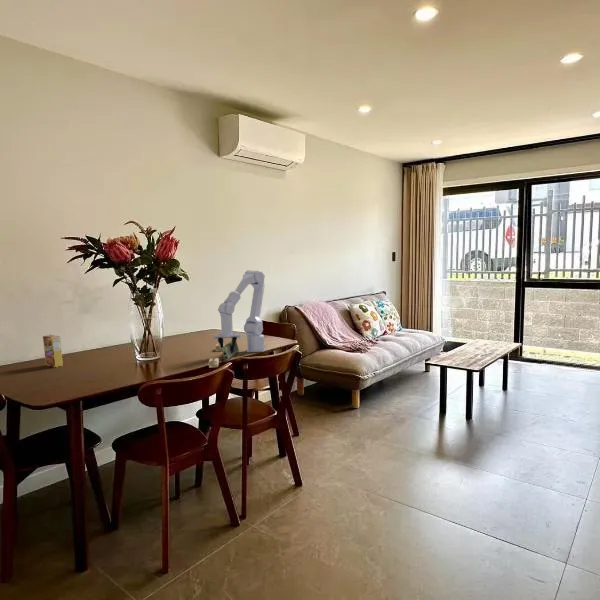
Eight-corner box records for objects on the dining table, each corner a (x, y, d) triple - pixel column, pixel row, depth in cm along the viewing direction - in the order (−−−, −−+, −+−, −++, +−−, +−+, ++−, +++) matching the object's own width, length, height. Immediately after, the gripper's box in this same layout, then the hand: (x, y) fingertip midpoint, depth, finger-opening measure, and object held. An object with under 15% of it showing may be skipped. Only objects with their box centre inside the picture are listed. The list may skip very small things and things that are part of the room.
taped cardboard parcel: (224, 348, 258) (223, 343, 258) (217, 367, 216) (217, 360, 216) (216, 348, 258) (216, 343, 257) (209, 367, 216) (208, 361, 216)
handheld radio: (240, 350, 250) (226, 361, 225) (234, 352, 250) (220, 363, 226) (236, 338, 249) (223, 348, 225) (231, 340, 250) (216, 350, 225)
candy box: (44, 366, 228) (42, 335, 226) (53, 364, 231) (50, 334, 230) (54, 368, 223) (52, 337, 221) (63, 366, 226) (60, 335, 225)
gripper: (211, 327, 231) (213, 354, 233) (240, 326, 232) (241, 352, 234) (213, 325, 238) (214, 351, 240) (241, 324, 239) (242, 350, 241)
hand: (227, 351), depth 237 cm, fingers open, 4 cm apart
